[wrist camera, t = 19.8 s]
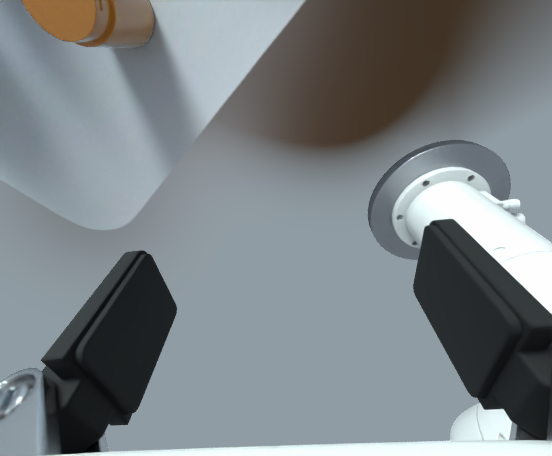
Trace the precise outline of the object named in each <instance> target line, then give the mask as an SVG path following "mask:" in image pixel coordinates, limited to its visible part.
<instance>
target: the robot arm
mask: <svg viewBox="0 0 552 456" xmlns="http://www.w3.org/2000/svg"><path fill="white" fill-rule="evenodd" d="M519 208H520V201H519V200H518V199H510V200H504V201H499V200H498V199H496V198H495V197H494V196H492V195H491V190H490V188H489V185H488V183H487V182H486V181H485V179H484V178H483V177H481V176H480V175H479V174H477V173H476V172H474V171H472V170H470V169H466V168H463V167H445V168H440V169H437V170H433V171H431V172H428V173H426V174H424V175H422V176H420V177H419V178H417V179H416V180H414V181H413V182H412V183H411V184H410V185H408V186H407V187H406V188H405V189H404V191H403V192H402V193H401V194H400V196H399V197H398V199H397V201H396V202H395V205H394V208H393V211H392V225H393V228H394V230H395V232H396V234H397V236H398V237H399V238H400V239H401V240H402V241H403V242H405V243H406V244H407V245H410V246H412V247H415V248H420V253H419V258H418V263H417V269H416V274H415V279H414V284H413V289H414V293H415V296H416V298H417V299H418V301H419V303H420V305H421V307H422V309H423V310H424V312H425V314H426V316H427V318H428V320H429V321H430V323H431V325H432V327H433V329H434V330H435V332H436V334H437V336H438V338H439V340H440V341H441V343H442V345H443V347H444V348H445V351H446V352H447V354H448V356H449V358H450V360H451V362H452V363H453V365H454V367H455V369H456V370H457V373H458V374H459V376H460V378H461V380H462V382H463V383H464V385H465V387H466V389H467V391H468V392H469V393H470V395H471V396H473V397H475V398H476V397H477V398H478V400H479V402H480V403H478V404H476V405H474V406H472V407H471V408H469V409H467V410H466V411H464V412H463V413H462V414H460V415H459V416H458V418H457V419H456V420H455V421H454V423H453V425H452V427H451V431H450V441H426V442H425V441H424V442H388V443H351V444H319V445H318V444H317V445H286V446H257V447H256V446H255V447H226V448H196V449H169V450H143V451H118V452H108V448H107V442H106V438H105V430H106V428H107V426H108V424H110V425H128V423H129V420H130V418H131V415H132V413H134V412H136V410H137V409H138V407H139V405H140V403H141V400H142V398H143V395H144V393H145V390H146V388H147V385H148V383H149V380H150V378H151V375H152V373H153V371H154V368H155V366H156V363H157V361H158V358H159V356H160V353H161V351H162V348H163V346H164V343H165V341H166V338H167V336H168V333H169V331H170V328H171V326H172V324H173V321H174V319H175V316H176V313H177V312H176V311H177V307H176V304H175V302H174V300H173V298H172V296H171V294H170V292H169V290H168V288H167V286H166V284H165V282H164V280H163V278H162V276H161V274H160V272H159V270H158V268H157V266H156V263H155V261H154V259H153V258H152V256H151V255H150V254H147V253H146V252H145V251H132V252H126V253H125V254H124V255H123V256H122V257H121V258H120V260H119V261H118V262H117V264H116V265H115V266H114V267H113V269H112V270H111V271H110V273H109V274H108V275H107V276H106V278H105V279H104V280H103V282H102V283H101V284H100V285H99V287H98V288H97V289H96V290H95V292H94V293H93V295H92V296H91V297H90V298H89V299H88V301H87V302H86V303H85V304H84V306H83V307H82V308H81V310H80V311H79V312H78V313H77V315H76V316H75V317H74V319H73V320H72V321H71V322H70V324H69V325H68V326H67V327H66V329H65V330H64V331H63V333H62V334H61V335H60V336H59V338H58V339H57V340H56V341H55V343H54V344H53V345H52V347H51V348H50V349H49V351H48V352H47V353H46V354H45V356H44V357H43V358H42V359H41V361H42V362H43V363H44V364H45V365H46V367H45V368H44V369H43V371H40V370H39V369H37V368H28V369H24V370H20V371H18V372H16V373H14V374H11V375H9V376H8V377H7V378H5V379H3V380H2V381H0V456H552V243H551V242H550V241H548V240H547V239H545V238H544V237H543V236H541V235H540V234H538V233H537V232H535V231H534V230H533V229H531V228H530V227H528V226H527V225H526V224H525V217H524V215H523V214H521V213H511V214H510V213H509V212H507V210H517V209H519Z"/></svg>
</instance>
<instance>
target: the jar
mask: <svg viewBox="0 0 552 456" xmlns="http://www.w3.org/2000/svg"><path fill="white" fill-rule="evenodd" d="M21 1H22V3H23V4H24V6H25V8H26V10H27V11H28V12H29V13H30V15H31V16H32V17H33V19H34V20H35V21H36V22H37V23H38V24H39V25H40V26H41V27H42V28H43V29H44V30H45V31H47V32H48V33H49V34H51V35H52V36H54V37H56V38H58V39H60V40H63V41H67V42H74V43H76V44H78V45H81V46H85V47H105V48H138V47H141V46H143V45H145V44H146V43H147V42H148V41H149V40H150V38H151V36H152V34H153V30H154V14H153V10H152V6H151V4H150V1H149V0H21Z"/></svg>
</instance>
